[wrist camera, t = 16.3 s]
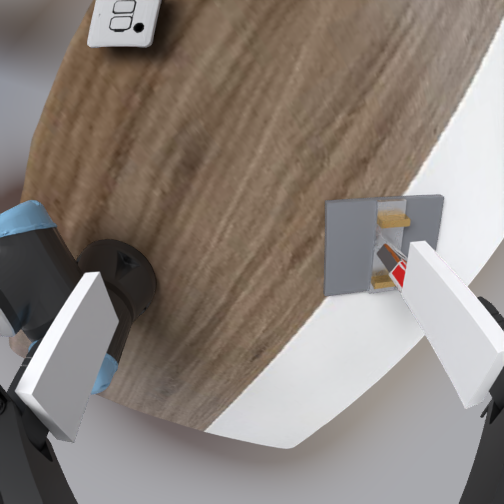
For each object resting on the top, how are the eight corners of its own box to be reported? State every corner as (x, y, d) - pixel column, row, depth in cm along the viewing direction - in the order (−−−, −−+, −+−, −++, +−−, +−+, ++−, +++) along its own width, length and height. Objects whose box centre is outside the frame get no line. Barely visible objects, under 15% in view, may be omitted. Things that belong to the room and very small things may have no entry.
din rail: (367, 290, 55) (372, 300, 53) (376, 200, 47) (383, 206, 44) (392, 287, 55) (398, 296, 52) (404, 198, 47) (412, 205, 44)
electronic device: (406, 252, 51) (448, 306, 37) (395, 265, 52) (434, 321, 39) (379, 233, 49) (421, 287, 36) (368, 247, 50) (406, 304, 37)
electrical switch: (151, 47, 33) (82, 46, 30) (154, 51, 37) (92, 49, 35) (166, -17, 29) (97, -17, 26) (167, -7, 33) (105, -8, 30)
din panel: (323, 292, 56) (324, 296, 55) (325, 200, 48) (326, 203, 47) (426, 278, 56) (428, 281, 55) (440, 194, 48) (443, 197, 47)
